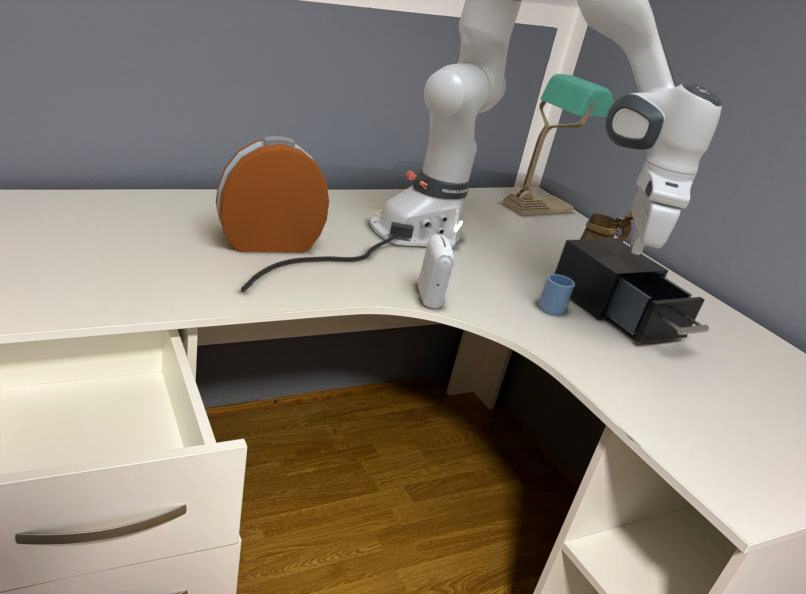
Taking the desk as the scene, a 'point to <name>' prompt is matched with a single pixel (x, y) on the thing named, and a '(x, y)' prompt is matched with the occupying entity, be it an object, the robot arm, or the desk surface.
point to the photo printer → (435, 271)
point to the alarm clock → (272, 197)
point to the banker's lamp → (573, 99)
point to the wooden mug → (607, 227)
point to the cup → (556, 294)
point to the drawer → (654, 308)
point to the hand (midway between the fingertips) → (634, 251)
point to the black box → (601, 270)
